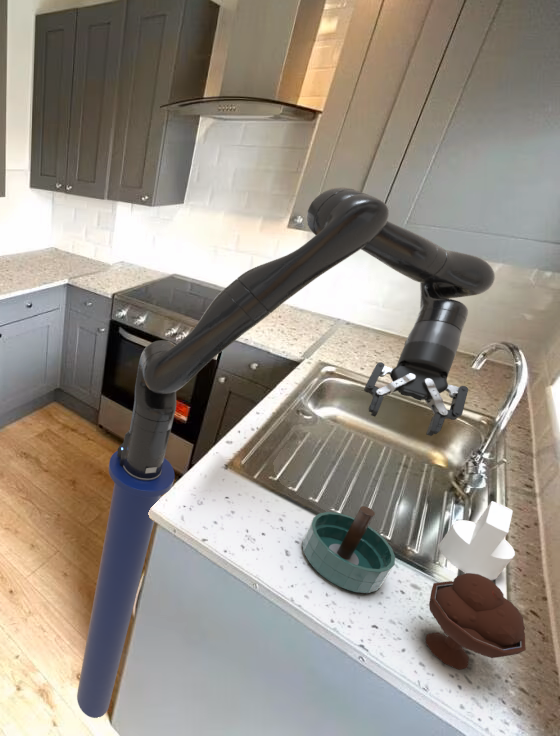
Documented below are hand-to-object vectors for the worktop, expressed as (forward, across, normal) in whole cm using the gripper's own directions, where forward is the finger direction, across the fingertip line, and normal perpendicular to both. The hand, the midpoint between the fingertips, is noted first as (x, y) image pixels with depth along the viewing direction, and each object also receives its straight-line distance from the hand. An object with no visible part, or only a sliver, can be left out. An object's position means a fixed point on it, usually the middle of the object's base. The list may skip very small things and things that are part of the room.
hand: (401, 424), depth 79 cm
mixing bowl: (+27, 0, +11) cm, 29 cm away
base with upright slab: (+14, +20, +24) cm, 34 cm away
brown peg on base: (+26, 0, +10) cm, 28 cm away
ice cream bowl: (+32, +16, +6) cm, 36 cm away
